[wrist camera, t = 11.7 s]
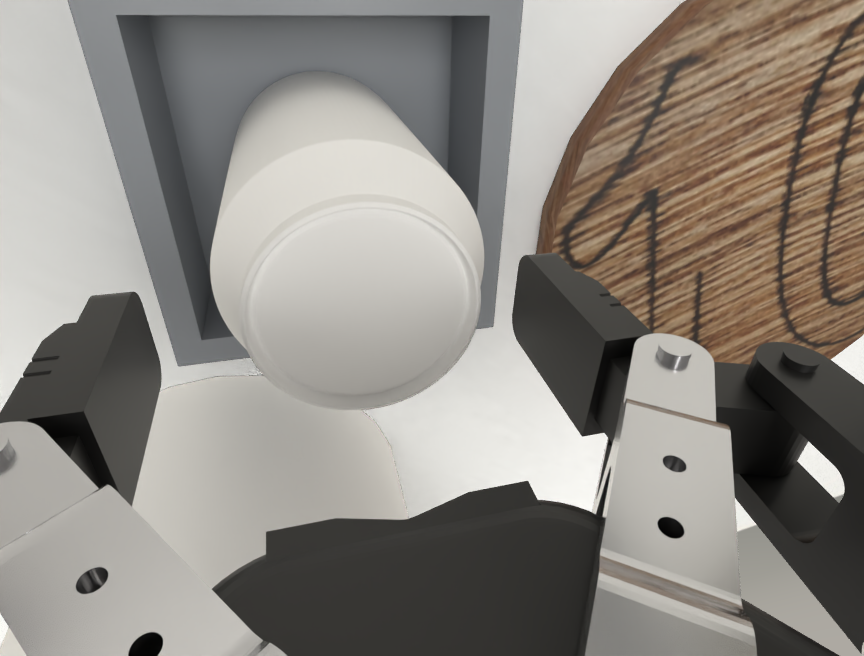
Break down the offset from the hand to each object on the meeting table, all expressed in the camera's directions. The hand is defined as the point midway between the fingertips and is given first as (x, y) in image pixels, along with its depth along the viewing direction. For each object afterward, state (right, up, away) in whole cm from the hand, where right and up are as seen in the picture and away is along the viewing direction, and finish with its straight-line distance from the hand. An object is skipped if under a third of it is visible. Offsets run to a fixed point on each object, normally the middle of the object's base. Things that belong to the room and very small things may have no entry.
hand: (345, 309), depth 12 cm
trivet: (+19, +5, +18) cm, 26 cm away
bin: (-3, +7, +10) cm, 12 cm away
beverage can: (-2, +6, +9) cm, 11 cm away
